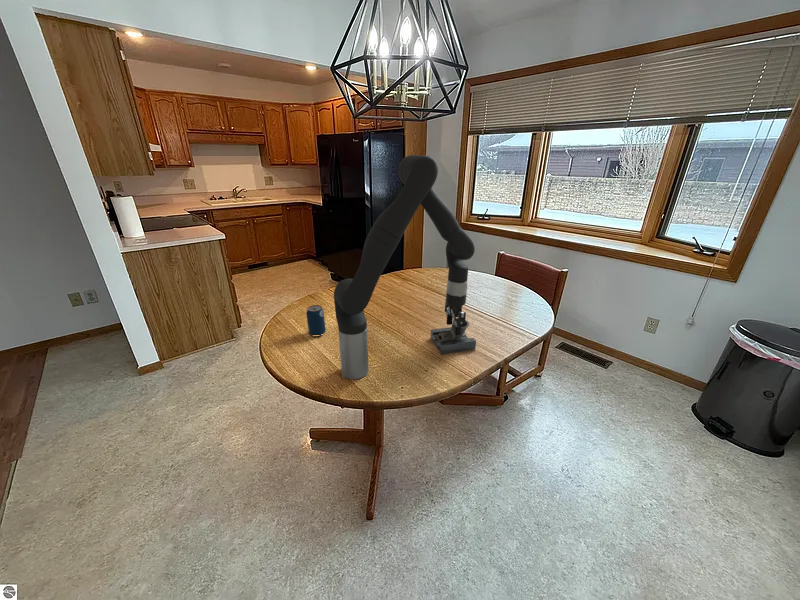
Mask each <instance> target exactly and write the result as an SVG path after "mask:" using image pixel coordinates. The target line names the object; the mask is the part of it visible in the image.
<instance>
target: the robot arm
mask: <svg viewBox="0 0 800 600" xmlns="http://www.w3.org/2000/svg"><path fill="white" fill-rule="evenodd" d="M397 169H398V172H397V173H398V177H399V179H400V181H401V182H402V184H403V185H402V188H401V190H400V192H399V194H398V195H397V197H396V198H395V199H394V201H393V202H391V204H390V205H388V207H387V208H386V209H384V210H383V211H382V212H381V214H379V216H378V217H377V218H376V220H375V221H374V223H373V224H372V226H371V228H370V230H369V232H368V234H367V236H366V238H365V241H364V244H363V249H362V254H361V257H360V258H361V259H360V263H359V267H358V269H357V271H356V273H355V275H354V277H353V278H345V279H342V280H340V281H339V282H338V283H337V284H336V285H335V287H334V291H333V300H334V301H333V302H334V312H335V319H336V322H337V327H338V339H339V354H340V355H339V356H340V357H339V358H340V368H341V375H342V379H348V380H359V379H363V378H364V377H366V376H367V375H368V373H369V369H370V368H369V347H368V346H369V345H368V343H369V342H368V322H367V318H366V316H365V312H364V311H365V309H366V308H367V307H368V305H369V303H370V301H371V298H372V296H373V293H374V290H375V288H376V286H377V284H378V281H379V280H380V277H381V276H382V275H383V272H384V271H385V269H386V267H387V264H388V263H389V261H390V259H391V257H392V255H393V253H394V252H395V250H396V249H397V247H398V245H399V244H400V241H401V240H402V238H403V235H404V233H405V231H406V230H407V228H408V227H409V225H410V223H411V221H412V219H413V217H414V215H415V213H416V212H417V210H418V209H419V206H420V205H421V207H422V208H423V209H424V211H425V212H426V214H427V215H428V216H429V218H430V220H431V221H432V223H433V225H434V226H435V228H436V231H437V232H438V233H439V235H440V237H441V238H442V239H443V240H445V242H446V246H445V254H446V261H447V266H448V275H447V283H446V291H445V302H444V303H445V304H444V313H445V315H446V324H445V325H447V326H448V325H449V326H450V325H451V326H452V323H453V320H454V321H455V325H456V326H455V335H460V334H461V327H465V320H466V319H467V313H466V312H465V311H463V309H462V307H463V306H464V305H465V304H466V301H467V294H468V293H467V292H468V277H469V276H468V275H469V267H468V265H467V264H466V263H465V262H464V261H468V260H470V259H471V258H472V257H473V256H474V254H475V251H476V250H475V245H474V241H473V240H472V238H471V237H470V236H469V235H468V233H466V231H465V230H464V229H463V228H462V227H461V225H460V224H459V222H458V220H457V218H456V216H455V214H454V212H453V211H452V209H450V207H449V206H448V204H446V203H445V202H444V200H443V199H442V198H441V196H439V195H438V193H437V192H436V191H435V189H434V188H433V186H434V185H435V183H436V181H437V177H438V175H439V174H438V173H439V167H438V163H437V161H436V160H435V158H433V157H432V156H430V155H424V154H423V155H421V154H409V155H407V156H405V157H403V158H402V159H401V161H400V163H399V164H398V168H397ZM457 321H458V323H457ZM462 322H463V323H462Z"/></svg>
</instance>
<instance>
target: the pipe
mask: <svg viewBox="0 0 800 600" xmlns="http://www.w3.org/2000/svg"><path fill="white" fill-rule="evenodd" d="M457 323H458V321H457ZM462 323H463V322H462ZM455 326H456V325H455V321H454V320H453V319H452V324H451V326H450V327H451V330H450V332H444V333H439V334H438V341H439V342H445V341H451V340H460V339H461V338H462V336H463V334H464V332H465V333H466V331H467V328H469V326H470V322H469V321H468V320H466V319H465V327H461V334H460V335H455Z"/></svg>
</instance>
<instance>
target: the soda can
mask: <svg viewBox="0 0 800 600" xmlns="http://www.w3.org/2000/svg"><path fill="white" fill-rule="evenodd" d="M324 311H325V310H324V309H323V307H322V305H319V304H318V305H317V304H315V305H311V306H308V307H307V310H306V321H307V329H308V330H307V331H308V334H309V335H310V334H311V335H321V334H323V333H324V334H325V333H326V331H327V330H326V320H325V312H324ZM311 335H310V336H311Z"/></svg>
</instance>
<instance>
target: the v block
mask: <svg viewBox="0 0 800 600" xmlns="http://www.w3.org/2000/svg"><path fill="white" fill-rule="evenodd" d="M451 327H452V326H450V327H442V328H435V329H434V328H432V329H430V340H431V341H432V342H433V344H434V346H435V347H436V349H437V350H438V351H439V353H440V355H446V354H447V355H449V354H454V353H462V352H469V351H475V350H476V345H477V340H476V339H475V338H474V337H468V336H467V333H466V331H465V332H464V334H463V336H462V338H461V339H460V340H451V341H445V342H439V341H438V334H439V333H444V332H450V330H451Z"/></svg>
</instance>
